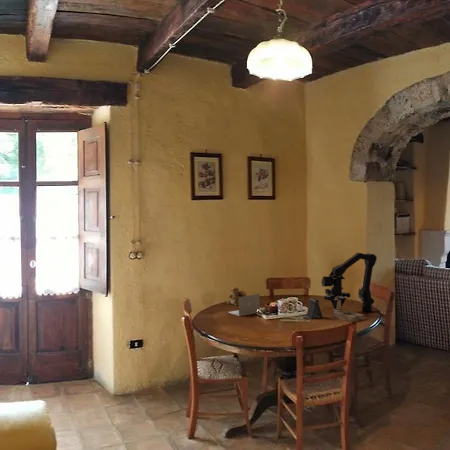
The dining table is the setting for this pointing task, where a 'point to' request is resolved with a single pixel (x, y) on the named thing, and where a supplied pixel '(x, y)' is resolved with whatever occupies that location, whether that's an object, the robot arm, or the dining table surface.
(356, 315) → the walnut board
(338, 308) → the birch peg
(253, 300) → the laptop
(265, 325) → the dining table surface
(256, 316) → the dining table surface
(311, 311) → the phone stand
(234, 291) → the stuffed squirrel
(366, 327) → the dining table surface
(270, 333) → the dining table surface
